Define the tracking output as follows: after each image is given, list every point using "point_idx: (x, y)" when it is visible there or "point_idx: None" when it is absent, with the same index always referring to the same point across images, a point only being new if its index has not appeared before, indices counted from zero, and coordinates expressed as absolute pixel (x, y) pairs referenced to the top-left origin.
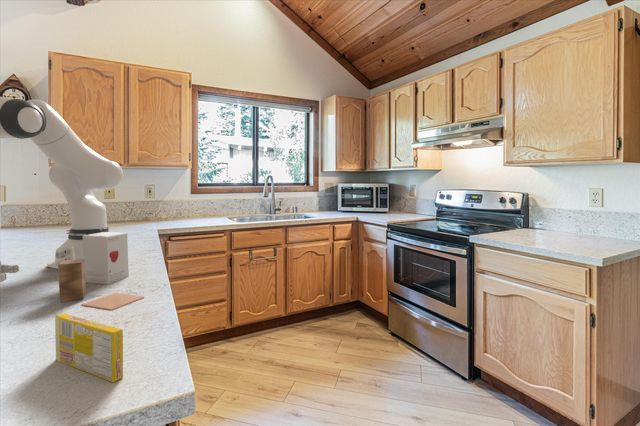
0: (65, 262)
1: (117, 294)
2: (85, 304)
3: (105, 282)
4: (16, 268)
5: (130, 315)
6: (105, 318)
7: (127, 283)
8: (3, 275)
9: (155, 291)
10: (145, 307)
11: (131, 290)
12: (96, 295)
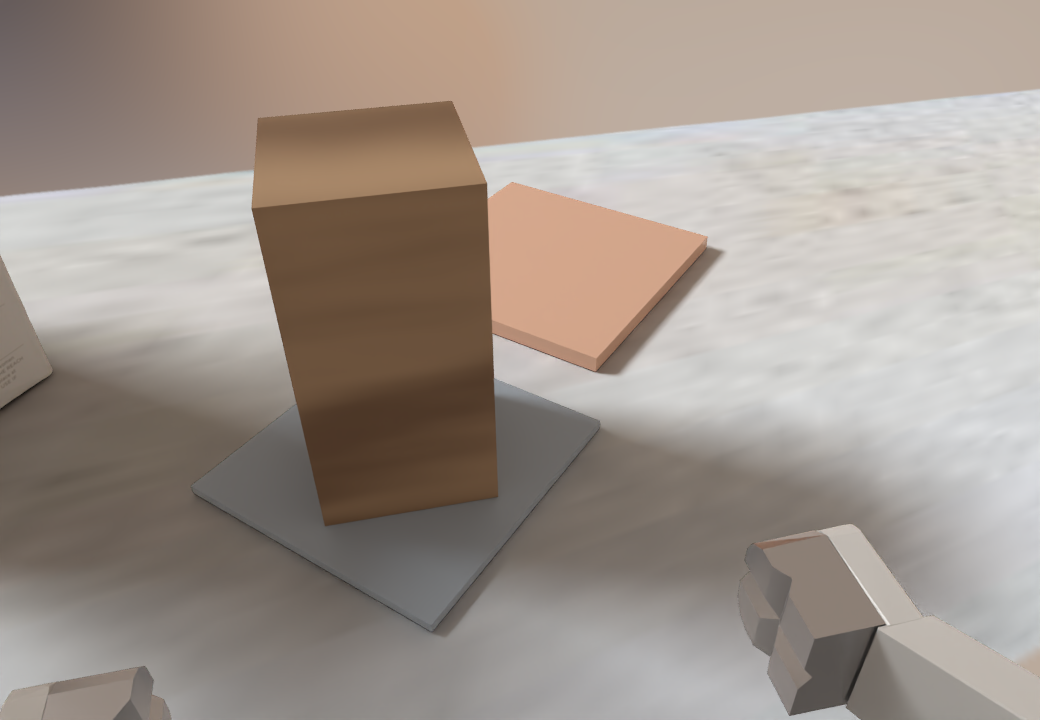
0: (391, 168)
1: None
2: (607, 341)
3: (29, 373)
4: (150, 689)
5: (761, 195)
6: (806, 249)
7: (98, 294)
8: (848, 530)
9: None
10: (651, 176)
11: None
12: None
